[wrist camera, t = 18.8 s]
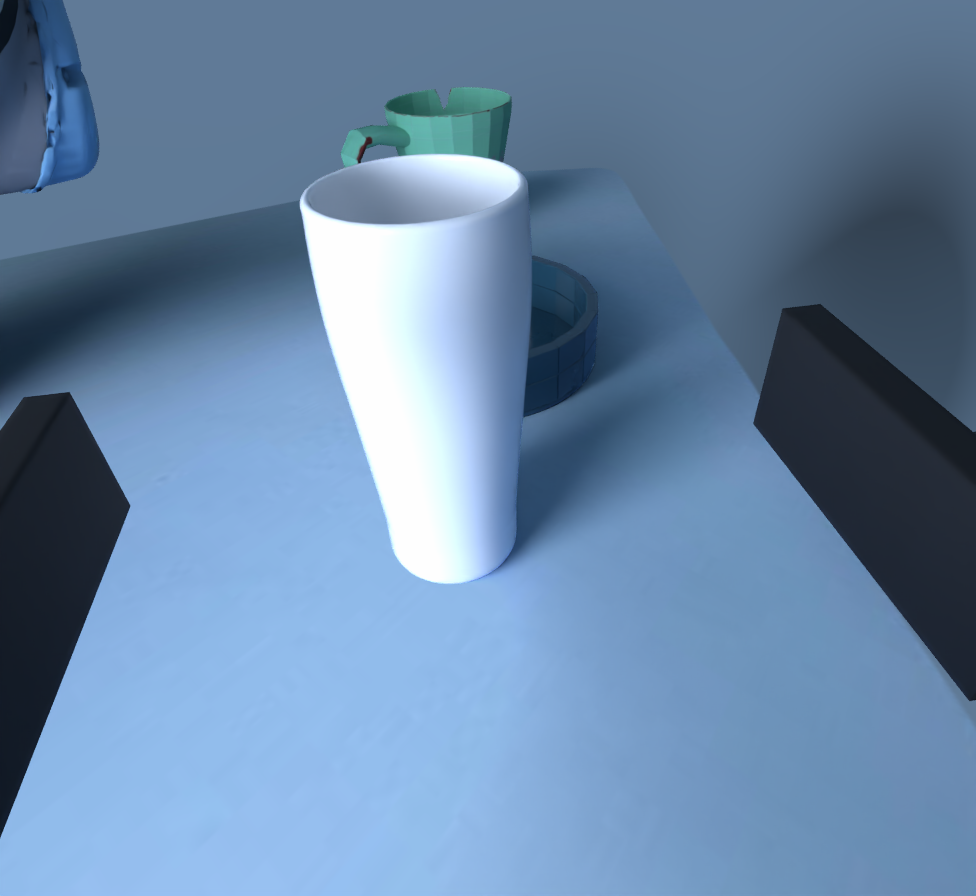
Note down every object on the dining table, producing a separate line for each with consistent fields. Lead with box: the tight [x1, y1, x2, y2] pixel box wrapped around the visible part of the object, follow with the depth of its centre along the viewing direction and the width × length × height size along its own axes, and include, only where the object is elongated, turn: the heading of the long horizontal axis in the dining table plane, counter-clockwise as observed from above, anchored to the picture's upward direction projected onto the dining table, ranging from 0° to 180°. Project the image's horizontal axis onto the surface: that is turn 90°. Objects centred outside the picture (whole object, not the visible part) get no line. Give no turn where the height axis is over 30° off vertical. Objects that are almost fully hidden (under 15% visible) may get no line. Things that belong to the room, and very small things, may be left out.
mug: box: [341, 87, 512, 167], centre depth 53 cm, size 15×10×10 cm
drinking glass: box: [300, 154, 532, 584], centre depth 24 cm, size 7×7×15 cm
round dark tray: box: [523, 256, 598, 417], centre depth 40 cm, size 14×14×4 cm
